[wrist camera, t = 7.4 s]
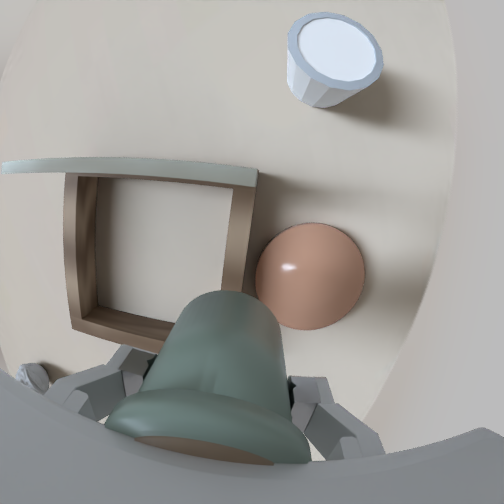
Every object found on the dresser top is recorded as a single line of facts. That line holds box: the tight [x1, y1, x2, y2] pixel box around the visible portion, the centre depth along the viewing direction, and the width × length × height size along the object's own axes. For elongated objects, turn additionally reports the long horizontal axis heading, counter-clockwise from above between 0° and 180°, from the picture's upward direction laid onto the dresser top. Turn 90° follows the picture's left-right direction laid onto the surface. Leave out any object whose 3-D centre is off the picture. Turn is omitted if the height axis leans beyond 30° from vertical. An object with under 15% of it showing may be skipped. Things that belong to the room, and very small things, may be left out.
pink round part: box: [255, 223, 365, 330], centre depth 24 cm, size 10×10×1 cm
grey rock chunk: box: [16, 363, 49, 395], centre depth 26 cm, size 6×7×7 cm
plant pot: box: [104, 290, 312, 466], centre depth 9 cm, size 6×6×8 cm
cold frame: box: [1, 157, 259, 354], centre depth 19 cm, size 17×17×12 cm
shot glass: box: [287, 12, 384, 108], centre depth 17 cm, size 7×7×7 cm
